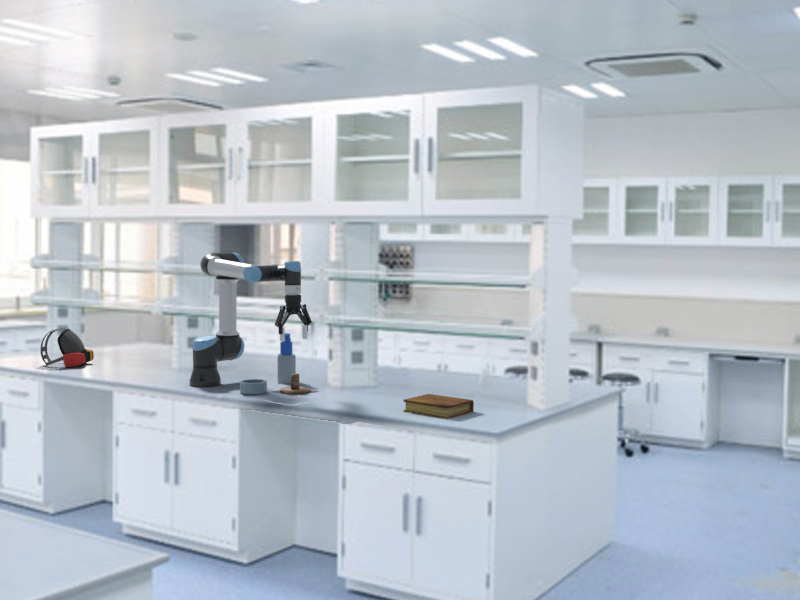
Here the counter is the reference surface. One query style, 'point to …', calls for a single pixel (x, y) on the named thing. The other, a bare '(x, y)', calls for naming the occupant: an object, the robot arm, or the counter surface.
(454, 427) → the counter surface
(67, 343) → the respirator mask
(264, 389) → the bowl
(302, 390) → the lid
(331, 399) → the counter surface
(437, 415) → the diary
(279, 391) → the mat
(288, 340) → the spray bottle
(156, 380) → the counter surface
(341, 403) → the counter surface
